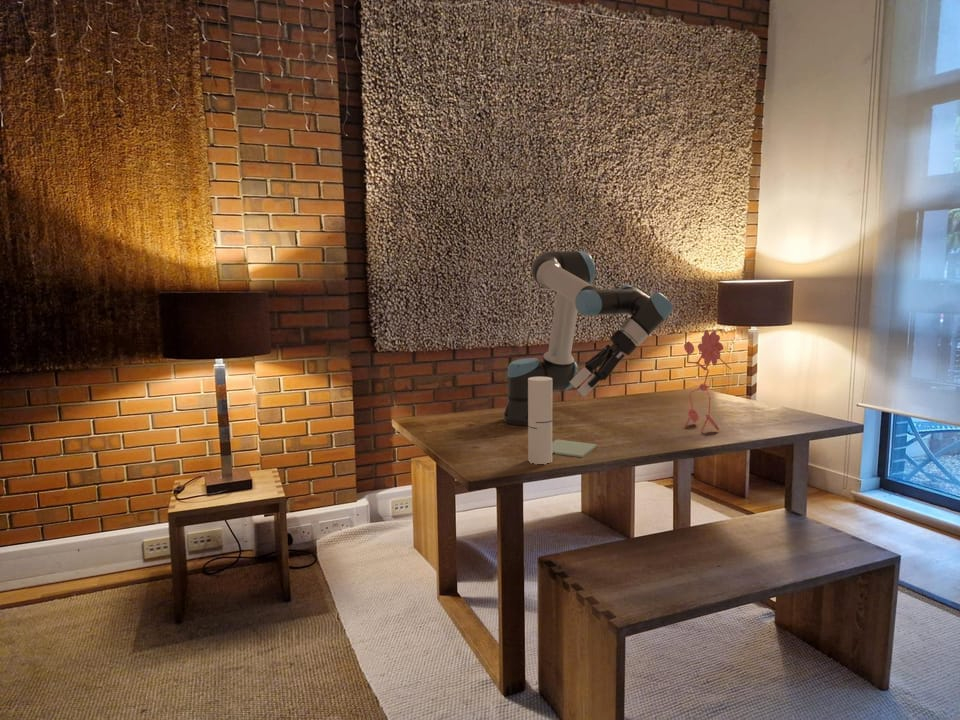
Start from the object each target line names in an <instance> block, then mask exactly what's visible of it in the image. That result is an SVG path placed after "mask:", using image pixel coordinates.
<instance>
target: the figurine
mask: <svg viewBox="0 0 960 720" xmlns="http://www.w3.org/2000/svg"><path fill="white" fill-rule="evenodd" d="M720 339H721V337H720V335H719V334H717V332H716V330H713V331H711V332H709V330H708V329H705V330H704V332H703V335H702V336H701V343H699V344H698V345H697V349H698V351H699V352H700V353H701V354H700V357H699V359H698V360H697V361H689V356H690V355H692V354H693V353H694V352H695V347H694V345H693V343H692V342H690V341H689V340H688V341H685V343H684V345H683V348H684V351H685V352H686V353H687V354H686V363H687V364H696V365H698V366H699V367H700V368H701V369H703V370H704V371H706V374H705V379H704V382H703V383H701V384H699V388H696V389H694V390H692V391H689V393H688V395H689V400H690V405H691V406H690V407H691V409H689V410H688V412H687V413H688V414H687V415H688V419H687V420H686V423H685V427H688V424H689V422H690V420H691V421H692V422H693V423H694V424H696V423H697V422H698V421H699V420H700V419H699V418H700V417H699V414H698V412H697V411H696V410H695V409H693V402H692V396H691V395H692V393H694V392H697V391H699V390H700V391H702V392H706V393H707V395H708V397H709V400H708V401H709V402H708V413H706V414H705V417H706V418H705V419H703V421H705V422H704V423H703V426H702V427H701V430H700V432H702V433H703V431H704V430H705V427H706V424H707V423H708V422H709V423H710V424H711V426H713V427H714V428H715V429H716V430H717V431H718V432H719V431H720V428H719V427H718V425H717V423H718V424H722V425H726V426H728V427H730V428H732V426H731V425H729V424H728V423H724V422H719V421H717V422H716V421H714V419H713V417H711V415H710V413H711V395H710V393H709V391H708V385H707V384H706V383H707V378H708V375H709V373H710V371H709V369H708V367H709V365H710V363H711V364H712V365H713V366H716V365H717V363H718V360H719V361H721V362H722V363H723V364H724V365H725V367H727V368H728V369H729V370H732V368H731V367H730V366H729V364H727V363H726V362H725V361H724V360H723V359H722V358H721V351H723V350H724V345H723V344H722V342H720ZM701 360H703V361H704V362H703V363H704V365H705V366H704V365H702V364H700V361H701Z"/></svg>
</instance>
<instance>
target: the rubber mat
mask: <svg viewBox="0 0 960 720" xmlns="http://www.w3.org/2000/svg"><path fill="white" fill-rule="evenodd" d="M597 447H598V443H597V444H596V443H590V442H581V441H571V440H565V439H555V440H552V454H553V453H555V455H561V456H562V455H563V456H568V457H569V456H570V457H576V458H584V457H585V456H586V455H588V454H589V453H590V452H591V451H594V449H595V448H597Z"/></svg>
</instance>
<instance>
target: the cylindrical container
mask: <svg viewBox="0 0 960 720" xmlns="http://www.w3.org/2000/svg"><path fill="white" fill-rule="evenodd" d="M527 438H528V439H527V444H528V445H527V452H528V454H527V456H528V458H527V461H529V462H530V463H529V464H532V463H534V464H533V465H537V464H544V465H548V464H547V463H550V462H551V463H553V453H552V442H553V391H552V378H550V377H530V378H528V425H527ZM551 463H550V464H551Z"/></svg>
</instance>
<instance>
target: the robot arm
mask: <svg viewBox="0 0 960 720" xmlns="http://www.w3.org/2000/svg"><path fill="white" fill-rule="evenodd" d="M595 266H596V265H595V262H594V259H593V257H592V255H590V254H589V253H588V252H587V251H579V250H571V251H570V250H565V251H563V250H561V251H553V250H552V251H551V250H549V251H546V252H543V253H541V254H539V255H538V256H537V257H536V258H534V260H533V262H532V265H531V270H530V271H531V276H532V278H533V280H534V281H535V282H536V284H537V285H539V286H541V287H543V288H546V289H551V290H552V291H554V292H556V296H555V301H554V310H553V317H552V324H551V329H550V337H549V342H548V343H549V344H548V351H546V352H545V353H544V354H543V355H542V356H543V357H542V361H540V359H539V358H536V357H528V358H527V357H526V358H518V359H516V360H512V361H511V362H509V364H508V366H507V375H506V376H507V403H506V406H505V409H504V412H503V422H504V423H505V424H508V425H513V426H528V378H530V377H550V378H552V392H562V391H567V390H571V389H572V388H575V389H577V390H576V391H577V392H578V393H579V394H580V395H581V396H582V397H583V398H585V397H586V396H587V395H588V394H589V393H590V392H591V391H592V390H593V389H594V388H595V387H596V386H597V385H598V384H599V383H600V382H601V381H606V380H607V378H608V377H609V376H610V374H611V373H612V372H613V371H614V369H615V368H616V367H617V365H618V364H619V362H620V361H621V360H622V359H623V358H624V357H625V355H626V356H630V355H631V354H632V353H633V352H634V351H635V350H636V349H637V346H640V345H641V344H642V343H644V342H646V341H647V338H648V337H649V336H650V335H651V334H652V333H653V332H654V331H655V330H656V329H657V328H658V327H659V326H661V324H662V323H663V322H664V321H666V320H667V318H668V317H670V315H671V314H672V312H673V311H674V305H673V304H672V302H671V301H670V300H669V299H668V298H667V297H666V296H665V295H664V294H662V293H660V292H658V291H657V292H654V293H653V294H652V295H647V294H646V293H645V292H643V291H641V290H640V289H639V288H637V287H635V286H634V285H633V286H632V285H631V284H623V285H621V286H619V287H617V289H600V288H598V287H596V286H595V285H592V283H593V282H594V281H595V277H596V267H595ZM578 314H579V315H580V316H588V317H595V316H610V315H614V316H615V315H630V317H629V318H628V319H626V321H625V322H623V323H622V324H621V326H620V327H619V328H620V329H618V330H616V331H615V332H614V333H613V334H612V335H611V336H610V337H609V339H610V341H611V342H612V344H611V345H610V344H609V343H608V344H606V346H605V347H604V348H602V349H601V350H600V351H599V352H597V354H595V355H594V356H593V357H591V358H590V359H588V360H587V361H586V362H585V363H584V365H585V366H583V368H582V369H580V371H579V370H578V369H579V367H578V364H577V362H576V360H575V358H574V356H573V355H572V351H573V350H572V349H573V343H574V338H575V332H576V324H577V319H578ZM597 368H598V369H597ZM596 369H597V370H596ZM594 370H595V371H594ZM590 375H591V376H590ZM589 376H590V377H589ZM588 377H589V378H588ZM587 378H588V379H587ZM586 379H587V380H586ZM584 381H585V382H584ZM583 382H584V383H583ZM581 384H582V385H581ZM580 385H581V386H580ZM579 386H580V387H579Z"/></svg>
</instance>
